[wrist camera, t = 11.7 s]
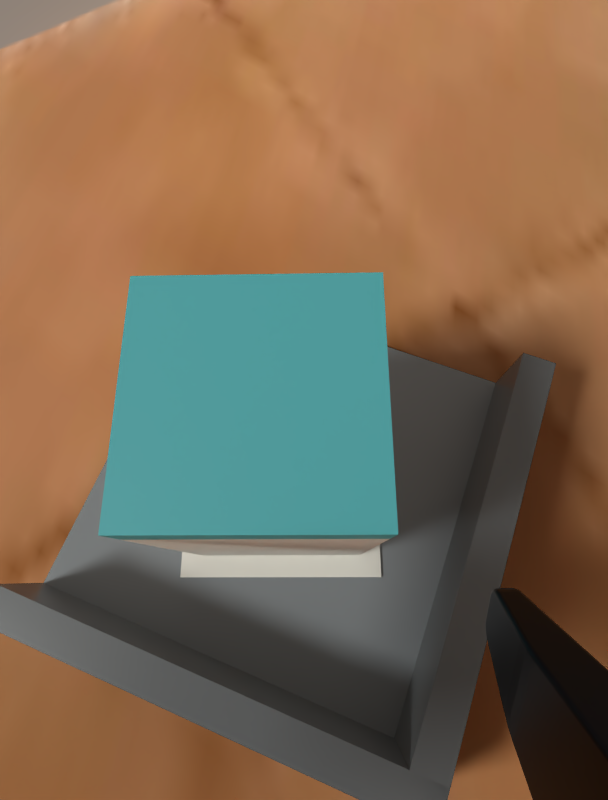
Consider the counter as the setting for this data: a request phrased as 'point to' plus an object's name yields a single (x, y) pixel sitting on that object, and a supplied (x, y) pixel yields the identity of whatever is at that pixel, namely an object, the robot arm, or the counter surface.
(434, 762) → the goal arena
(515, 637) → the robot arm
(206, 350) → the white teal-lidded canister
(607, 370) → the counter surface
